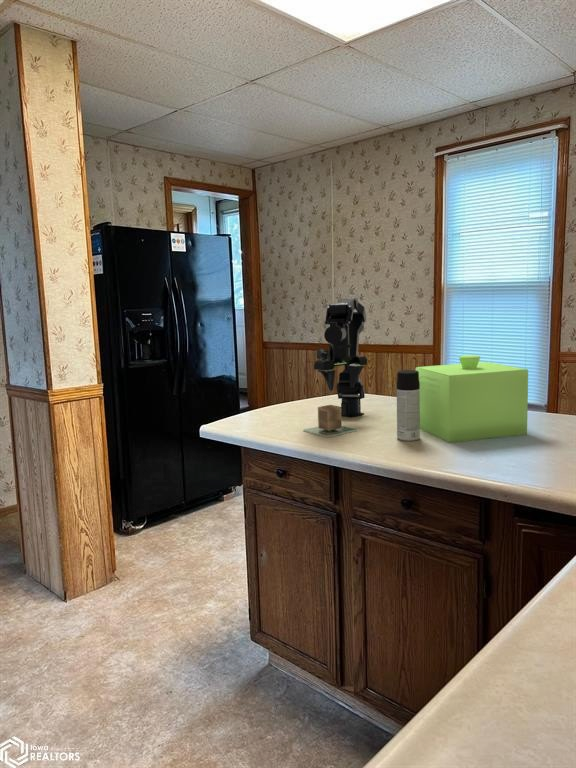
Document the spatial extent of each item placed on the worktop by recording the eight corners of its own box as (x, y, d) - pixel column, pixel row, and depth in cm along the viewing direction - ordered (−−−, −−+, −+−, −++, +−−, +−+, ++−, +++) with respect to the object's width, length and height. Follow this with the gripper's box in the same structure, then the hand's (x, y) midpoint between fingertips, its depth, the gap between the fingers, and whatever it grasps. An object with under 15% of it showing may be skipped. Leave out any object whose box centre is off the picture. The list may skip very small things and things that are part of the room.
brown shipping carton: (330, 425, 187) (330, 404, 186) (341, 427, 183) (341, 406, 182) (318, 428, 184) (317, 407, 183) (329, 430, 180) (328, 409, 179)
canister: (449, 443, 164) (449, 362, 160) (416, 427, 184) (415, 355, 181) (527, 434, 169) (528, 356, 166) (486, 420, 190) (487, 350, 186)
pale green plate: (332, 424, 192) (331, 404, 191) (356, 430, 182) (356, 409, 181) (303, 431, 185) (302, 409, 184) (327, 437, 175) (326, 415, 174)
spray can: (421, 436, 172) (420, 369, 169) (418, 442, 166) (418, 373, 163) (398, 435, 174) (397, 369, 171) (395, 441, 168) (394, 372, 165)
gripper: (345, 338, 200) (346, 382, 202) (302, 342, 189) (304, 389, 191) (367, 339, 191) (368, 386, 193) (324, 344, 180) (326, 393, 182)
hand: (341, 388), depth 190 cm, fingers open, 9 cm apart
